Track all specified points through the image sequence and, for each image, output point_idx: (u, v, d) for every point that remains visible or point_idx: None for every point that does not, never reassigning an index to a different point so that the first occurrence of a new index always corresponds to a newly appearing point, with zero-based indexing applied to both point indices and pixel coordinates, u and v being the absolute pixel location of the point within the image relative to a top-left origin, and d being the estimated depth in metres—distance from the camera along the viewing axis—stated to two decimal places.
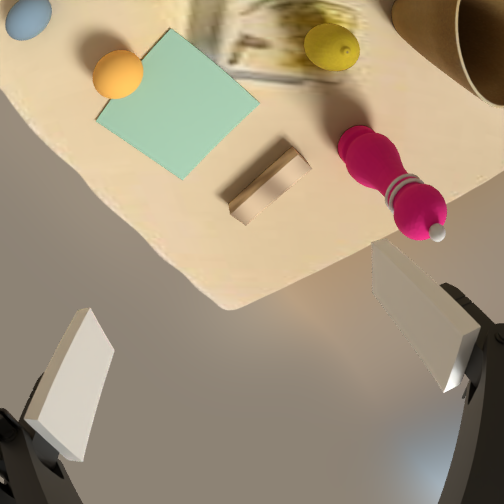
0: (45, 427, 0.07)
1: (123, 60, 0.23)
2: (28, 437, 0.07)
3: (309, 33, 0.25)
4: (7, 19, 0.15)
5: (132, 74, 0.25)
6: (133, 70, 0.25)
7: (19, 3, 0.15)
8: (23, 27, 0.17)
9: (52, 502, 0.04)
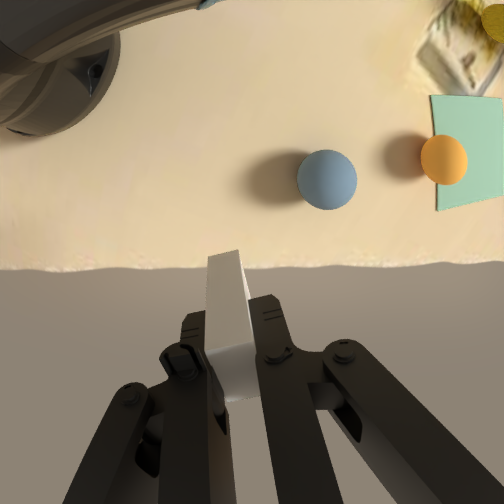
0: (231, 355, 0.09)
1: (452, 144, 0.24)
2: (207, 381, 0.09)
3: (492, 25, 0.19)
4: (320, 196, 0.25)
5: (463, 149, 0.25)
6: (461, 146, 0.25)
7: (318, 172, 0.25)
8: (351, 188, 0.25)
9: (212, 471, 0.06)
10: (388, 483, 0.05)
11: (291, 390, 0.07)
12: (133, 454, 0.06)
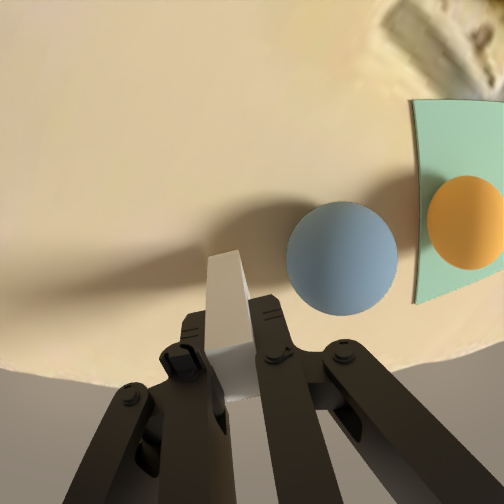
0: (231, 355, 0.09)
1: (499, 192, 0.13)
2: (207, 381, 0.09)
3: None
4: None
5: None
6: None
7: None
8: None
9: (212, 471, 0.06)
10: (388, 483, 0.05)
11: (291, 389, 0.07)
12: (133, 454, 0.06)
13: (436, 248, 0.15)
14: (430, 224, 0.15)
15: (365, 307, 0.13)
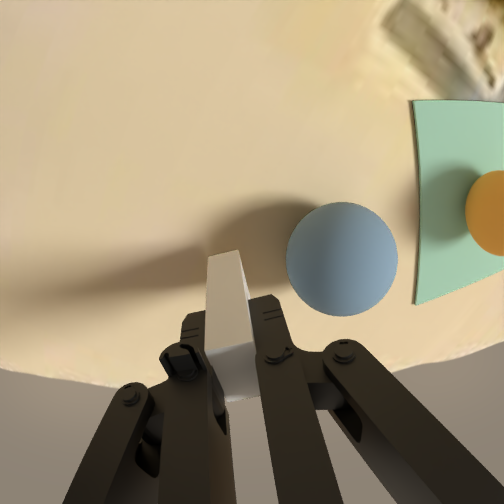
0: (231, 355, 0.09)
1: None
2: None
3: None
4: None
5: None
6: None
7: None
8: None
9: (212, 471, 0.06)
10: (388, 483, 0.05)
11: (291, 389, 0.07)
12: (133, 454, 0.06)
13: None
14: None
15: (365, 308, 0.13)
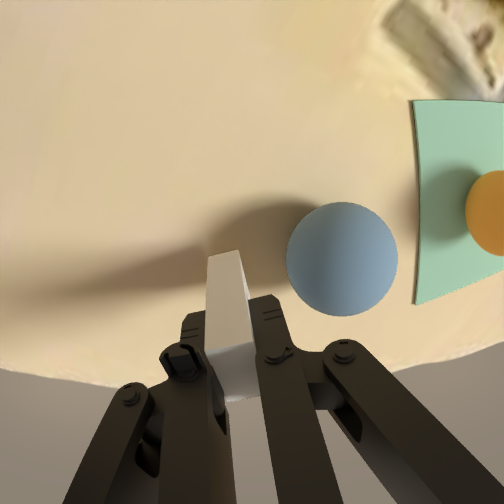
0: (231, 355, 0.09)
1: None
2: None
3: None
4: None
5: None
6: None
7: None
8: None
9: (212, 471, 0.06)
10: (388, 483, 0.05)
11: (291, 389, 0.07)
12: (133, 454, 0.06)
13: None
14: None
15: (365, 308, 0.13)
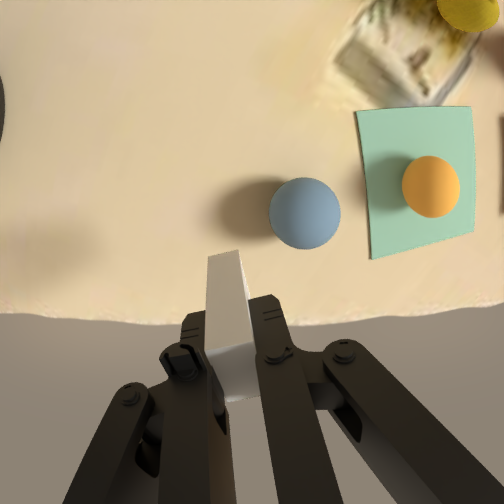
0: (231, 355, 0.09)
1: None
2: None
3: (449, 8, 0.16)
4: None
5: None
6: None
7: None
8: None
9: (212, 471, 0.06)
10: (388, 483, 0.05)
11: (291, 389, 0.07)
12: (133, 454, 0.06)
13: (437, 208, 0.22)
14: (432, 193, 0.21)
15: (317, 240, 0.22)
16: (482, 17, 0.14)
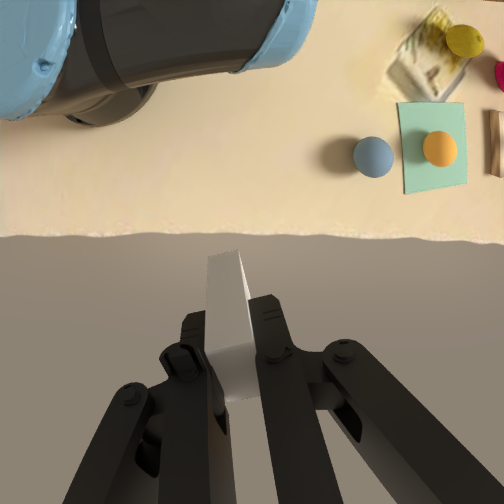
0: (231, 355, 0.09)
1: None
2: None
3: (453, 43, 0.29)
4: None
5: None
6: None
7: None
8: None
9: (212, 471, 0.06)
10: (388, 483, 0.05)
11: (291, 389, 0.07)
12: (133, 454, 0.06)
13: (445, 159, 0.36)
14: (441, 150, 0.35)
15: (383, 170, 0.35)
16: (472, 50, 0.27)
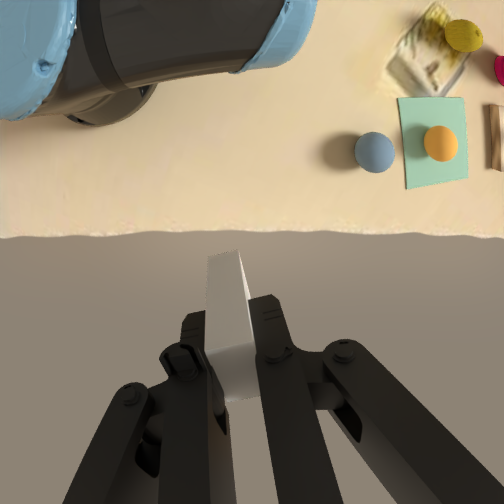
0: (231, 355, 0.09)
1: None
2: None
3: (452, 38, 0.29)
4: None
5: None
6: None
7: None
8: None
9: (212, 471, 0.06)
10: (388, 483, 0.05)
11: (291, 389, 0.07)
12: (133, 454, 0.06)
13: (446, 154, 0.35)
14: (442, 145, 0.35)
15: (385, 165, 0.35)
16: (471, 45, 0.27)
